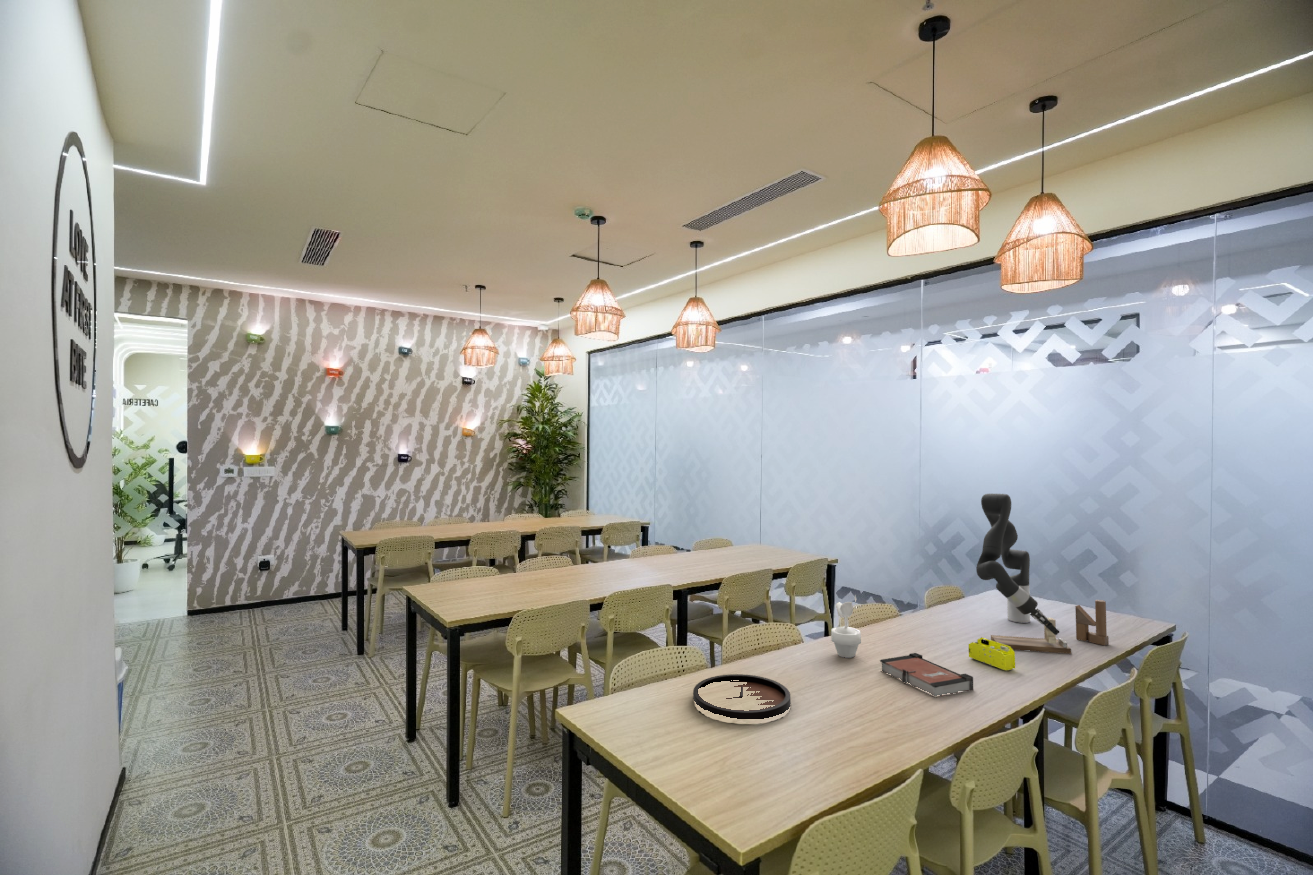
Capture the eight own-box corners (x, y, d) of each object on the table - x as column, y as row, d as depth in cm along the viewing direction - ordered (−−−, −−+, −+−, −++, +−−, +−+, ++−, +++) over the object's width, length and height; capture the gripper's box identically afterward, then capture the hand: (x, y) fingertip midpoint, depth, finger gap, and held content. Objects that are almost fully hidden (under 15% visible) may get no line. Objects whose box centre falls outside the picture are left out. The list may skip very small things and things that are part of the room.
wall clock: (759, 722, 176) (673, 695, 196) (759, 736, 176) (674, 707, 196) (807, 688, 200) (726, 667, 220) (807, 700, 200) (726, 678, 220)
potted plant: (865, 660, 236) (864, 596, 237) (835, 660, 236) (834, 596, 237) (855, 649, 249) (854, 588, 249) (827, 650, 249) (826, 588, 250)
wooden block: (1079, 637, 261) (1078, 595, 261) (1109, 644, 252) (1107, 600, 252) (1075, 639, 259) (1074, 597, 259) (1105, 646, 250) (1104, 602, 250)
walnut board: (990, 639, 260) (990, 630, 260) (1060, 644, 253) (1060, 634, 253) (998, 648, 248) (998, 638, 248) (1071, 653, 241) (1071, 643, 241)
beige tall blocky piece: (1042, 638, 251) (1042, 616, 251) (1051, 638, 250) (1050, 616, 250) (1048, 643, 244) (1048, 620, 244) (1057, 643, 244) (1056, 621, 244)
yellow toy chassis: (1016, 670, 224) (1015, 647, 225) (1005, 672, 222) (1004, 649, 222) (978, 657, 239) (978, 635, 239) (968, 659, 237) (967, 637, 237)
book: (878, 672, 225) (878, 658, 225) (916, 666, 231) (915, 652, 231) (933, 699, 201) (933, 684, 201) (973, 691, 207) (973, 676, 207)
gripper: (1034, 598, 242) (1069, 630, 239) (1023, 590, 256) (1056, 621, 252) (1019, 610, 244) (1054, 643, 240) (1009, 601, 257) (1042, 632, 254)
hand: (1055, 631), depth 246 cm, fingers closed on beige tall blocky piece, 3 cm apart
